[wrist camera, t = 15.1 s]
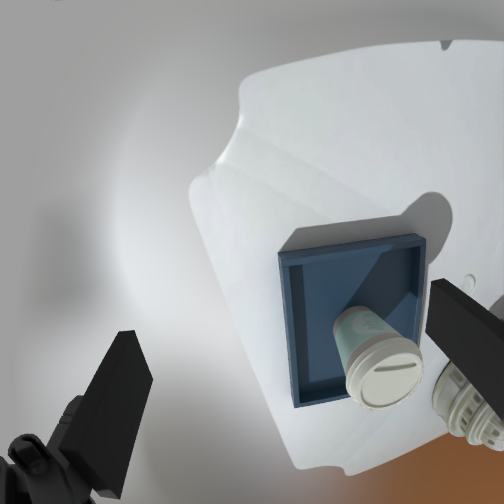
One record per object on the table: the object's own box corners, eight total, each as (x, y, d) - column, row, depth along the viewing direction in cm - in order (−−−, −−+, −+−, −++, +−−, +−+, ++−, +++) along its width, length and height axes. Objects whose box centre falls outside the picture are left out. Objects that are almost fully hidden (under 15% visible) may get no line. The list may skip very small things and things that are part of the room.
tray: (277, 252, 35) (280, 260, 33) (415, 233, 36) (426, 238, 33) (291, 396, 42) (294, 408, 39) (403, 371, 42) (410, 380, 39)
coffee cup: (396, 314, 38) (441, 366, 26) (354, 362, 40) (386, 422, 28) (352, 282, 36) (396, 333, 25) (308, 335, 38) (333, 400, 27)
